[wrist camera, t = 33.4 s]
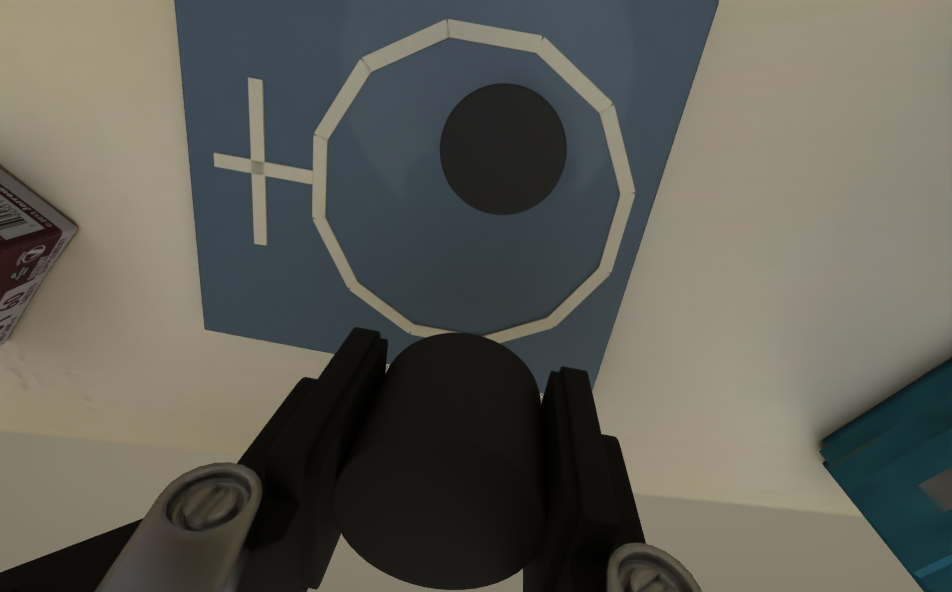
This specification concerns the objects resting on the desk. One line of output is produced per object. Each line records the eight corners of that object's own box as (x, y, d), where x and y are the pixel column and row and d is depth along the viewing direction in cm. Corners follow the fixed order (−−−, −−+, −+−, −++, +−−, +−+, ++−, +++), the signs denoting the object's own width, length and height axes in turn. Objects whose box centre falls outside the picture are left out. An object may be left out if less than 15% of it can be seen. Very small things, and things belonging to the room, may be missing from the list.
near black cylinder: (545, 201, 17) (550, 226, 14) (447, 183, 17) (431, 204, 14) (570, 94, 15) (581, 96, 12) (462, 75, 15) (448, 72, 12)
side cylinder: (557, 349, 10) (571, 459, 7) (522, 474, 11) (522, 607, 8) (389, 317, 10) (334, 413, 7) (377, 446, 11) (327, 569, 9)
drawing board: (587, 394, 21) (589, 404, 20) (212, 323, 21) (202, 331, 20) (712, 2, 14) (721, -2, 14) (177, -93, 15) (161, -101, 14)
